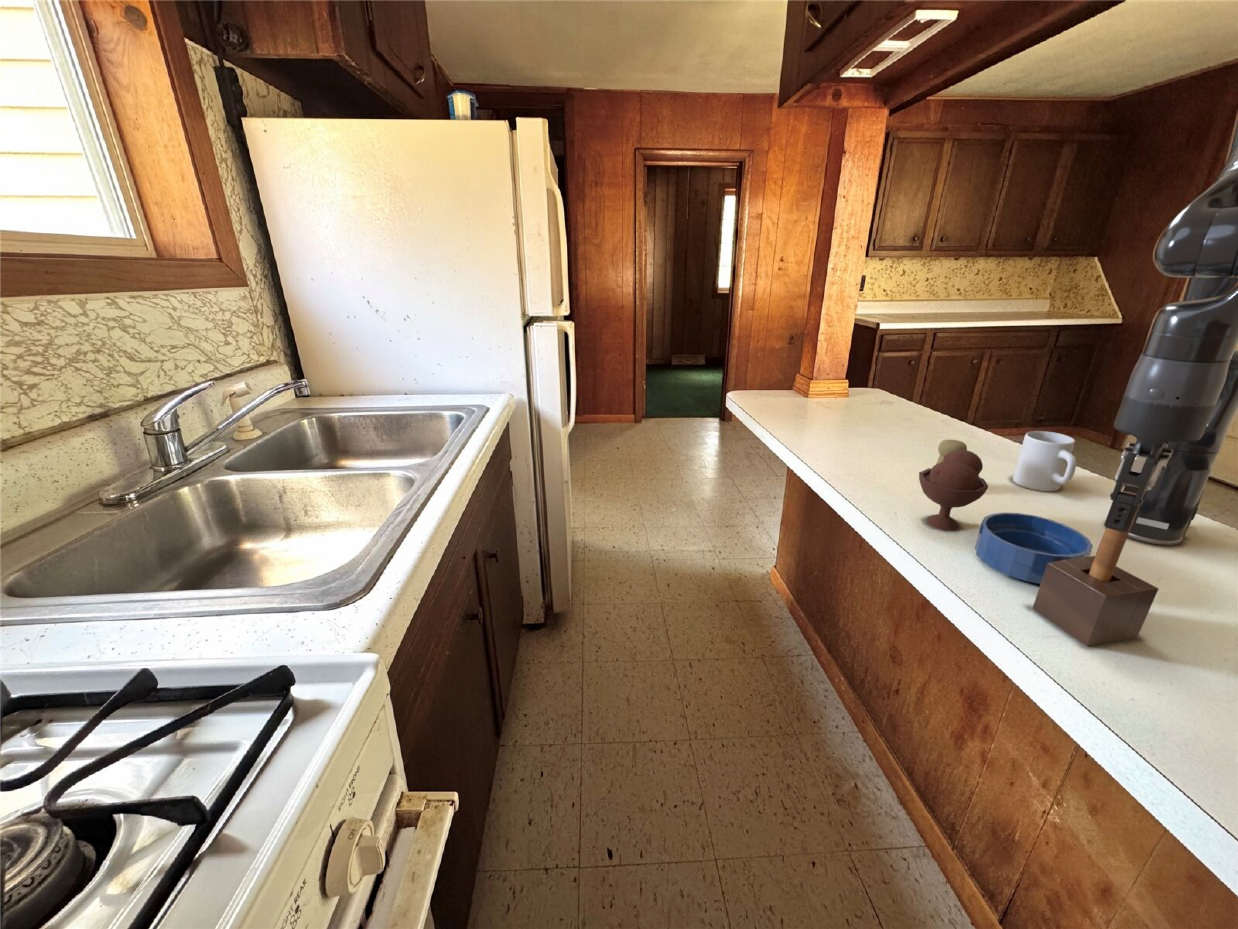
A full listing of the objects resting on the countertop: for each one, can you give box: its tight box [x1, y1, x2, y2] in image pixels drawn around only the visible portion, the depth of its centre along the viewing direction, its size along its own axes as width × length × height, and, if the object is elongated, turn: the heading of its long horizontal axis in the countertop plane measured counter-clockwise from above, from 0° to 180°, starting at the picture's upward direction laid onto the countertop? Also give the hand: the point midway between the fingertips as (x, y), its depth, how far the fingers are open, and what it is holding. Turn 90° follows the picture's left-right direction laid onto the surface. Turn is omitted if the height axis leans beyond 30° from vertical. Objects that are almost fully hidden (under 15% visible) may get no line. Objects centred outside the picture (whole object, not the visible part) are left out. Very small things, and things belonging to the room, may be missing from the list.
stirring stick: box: [1088, 490, 1140, 583], centre depth 68 cm, size 2×2×20 cm
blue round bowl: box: [974, 512, 1093, 585], centre depth 84 cm, size 14×14×6 cm
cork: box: [935, 439, 968, 465], centre depth 111 cm, size 6×6×11 cm
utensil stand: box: [1032, 555, 1160, 647], centre depth 70 cm, size 8×8×8 cm
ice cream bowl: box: [918, 449, 989, 532], centre depth 96 cm, size 11×11×15 cm
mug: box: [1012, 430, 1077, 492], centre depth 110 cm, size 12×8×11 cm
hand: (1122, 518), depth 66 cm, fingers open, 8 cm apart
